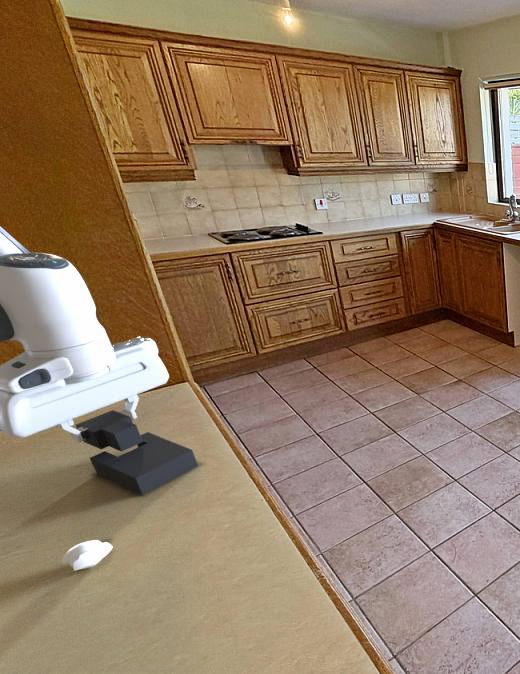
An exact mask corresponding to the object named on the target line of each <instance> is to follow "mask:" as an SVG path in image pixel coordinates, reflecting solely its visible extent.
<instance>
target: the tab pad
mask: <svg viewBox="0 0 520 674" xmlns="http://www.w3.org/2000/svg"><path fill="white" fill-rule="evenodd" d="M119 412H120V411H116V410H113V409H112V410H109V411H107V412H104V413H102V414H99V415H98V416H94V417H91V418H89V419H86V420H84V421H81V422H79V423H76V424H75V427H76V429H77V428H79V427H83V428H85V429H88V430H87V431H88V433H89V435H90V438H89V439H86V440H84V441H82V442H83V443H85V444H88V445H89V446H92V447H94V448H96V449H99V450H104V449H106V448H108V447H110V448H112V449H114V450H117V451H119V452H122V453H123V452H124V451H126V450H129V449H131V448H132V447H135V446H137V444H139V443H141V442H143V440H142V438H141V435H142V434H141V433H140V430H139V428H138V425H137V424H136V423H134V422H133V420H132V419H131V417H130V416H127V415H124V414H122V413H119Z"/></svg>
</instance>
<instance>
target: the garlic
mask: <svg viewBox="0 0 520 674" xmlns="http://www.w3.org/2000/svg"><path fill="white" fill-rule="evenodd" d="M112 549H113V545H112V544H110V543H109V542H107V541H105V542H101V541H100V540H98V539H92V540H87V541H84V542H81V543H78V544H76V545H74V546H73V547H71V548H70V549H68V550H67V552H65V554H64V555H63V557H62V560H61V563H60V565H64V564H66V563H68V565H69V566H70V567H71V568H73V572H76V571H79V570H87V569H90V568H92V567H95V566H96V565H97V564H99V563H100V562H101V560H102V559H103V558H105V557H106V556H107V555H108V554H109V553H110V552H111V551H112Z"/></svg>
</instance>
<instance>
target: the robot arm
mask: <svg viewBox="0 0 520 674" xmlns="http://www.w3.org/2000/svg"><path fill="white" fill-rule="evenodd" d="M96 312H97V308H96V304H95V301H94V299H93V297H92V295H91V293H90V290H89V288H88V286H87V283H85V280H84V279H83V277H82V275H81V274H80V273H79V271H78V270H77V268H76V267H75V266H74V265H73V264H72V262H70V261H69V260H67V259H66V258H64V257H62V256H58V255H55V254H51V253H45V252H31V251H30V250H29V249H27V248H26V247H25V246H23V245H22V244H21V243H20V242H19V241H18V240H16V239H15V238H14V236H12V235H11V234H9V232H7V231H6V230H5V229H4V228H3V227H2V226H0V344H1V343H5V342H7V341H16V342H19V343H21V345H22V347H23V349H24V351H23V352H22V353H20V354H18V355H17V356H15V357H13V358H11V359H10V360H8V361H6V362H4V363H1V364H0V431H1V432H2V433H3V434H5V435H7V436H9V437H11V438H12V437H13V438H18V439H23V438H26V437H27V438H28V437H30V436H32V435H34V434H37V433H40V432H42V431H45V430H47V429H50V428H53V427H57V428H59V429H62V430H64V431H65V432H68V433H70V435H71V438H72V439H73V441H75V442H77V443H82V442H83V441H84V440H86V439H89V438H90V435H89V433H88V431H87V430H88V429H85V428H83V427H79V428H77V427H76V428H74V427H72V426H74V425H75V422H74V419H76V418H79V417H82V416H84V415H87V414H90V413H93V412H94V411H97V410H100V409H103V408H105V407H108V406H111V405H113V404H115V403H118V402H120V401H125V402H124V407H123V409H122V410H120V411H118V412H119V413H122V414H124V415H127V416H130V417H131V419H132V421H134V420H136V419H138V416H137V413H136V411H135V410H136V408H137V406H138V403H139V400H140V398H139V396H138V395H139V394H142V393H144V392H147V391H150V390H152V389H155V388H157V387H160V386H162V385H165V384H167V383H168V381H169V378H170V374H169V372H168V370H167V368H166V366H165V364H164V363H163V361H162V359H161V358H160V357H159V348H158V346H157V343H156V342H155V340H154V339H151V338H150V337H143V336H137V337H134V338H131V339H128V340H125V341H120V342H116V343H113V344H112V343H111V341H110V338H109V337H108V334H107V331H106V329H105V327H104V326H103V325H101V323H100V322H99V320H98V318H97V313H96Z"/></svg>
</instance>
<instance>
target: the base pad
mask: <svg viewBox="0 0 520 674" xmlns="http://www.w3.org/2000/svg"><path fill="white" fill-rule="evenodd" d="M140 435H141V438H142V440H143V442H141V443H139V444H137V445H136V446H137V447H135V448H134V449H131V450H129V451H127V452H124V453H123V454H121V455H119V456H117V455H115V454H112V453H111V452H108V451H106V450H104V451H101V452H99V453H98V454H94V455H93V456H90V457H89V460H90V462H91V464H92V467H93V468H94V470H95V473H96V475H98V476H100V477H102V478H104V479H106V480H108V481H111V482H113V483H115V484H117V485H119V486H121V487H123V488H125V489H127V490H130V491H132V492H134V493H137V495H140V496H144V495H146V494H148V493H150V492H152V491H154V490H155V489H158V488H159V487H162V486H163V485H165V484H167V483H168V482H171V481H172V480H174V479H176V478H177V477H180V476H181V475H184V474H185V473H187V472H189V471H191V470H193V469H194V468H196V467H198V466H199V464H198V462H197V459H196V457H195V453H194V450H193V449H192V448H188V447H187V446H184V445H181V444H179V443H177V442H174V441H171V440H169V439H166V438H164V437H162V436H159V435H156V434H155V433H151V432H149V431H146V432H145V433H142V434H140Z"/></svg>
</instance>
